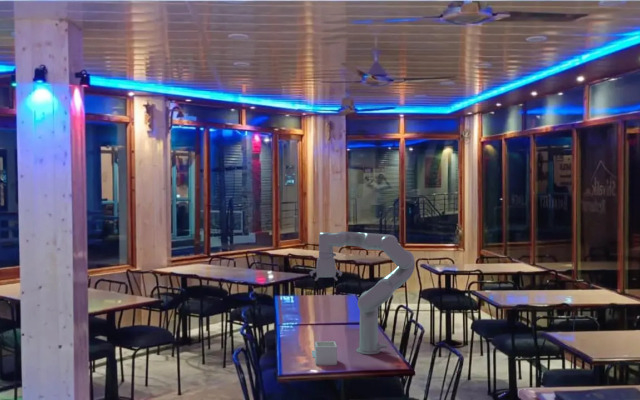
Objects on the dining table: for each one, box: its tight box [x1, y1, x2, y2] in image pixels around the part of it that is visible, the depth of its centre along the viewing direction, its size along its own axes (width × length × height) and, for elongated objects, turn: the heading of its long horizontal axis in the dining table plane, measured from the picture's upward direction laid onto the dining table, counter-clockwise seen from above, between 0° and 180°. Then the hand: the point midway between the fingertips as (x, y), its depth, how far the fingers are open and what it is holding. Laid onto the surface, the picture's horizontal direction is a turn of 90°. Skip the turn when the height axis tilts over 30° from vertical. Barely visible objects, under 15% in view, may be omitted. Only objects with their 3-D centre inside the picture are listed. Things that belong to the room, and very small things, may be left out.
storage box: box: [314, 340, 338, 367], centre depth 298 cm, size 10×10×9 cm
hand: (325, 287), depth 322 cm, fingers open, 9 cm apart
